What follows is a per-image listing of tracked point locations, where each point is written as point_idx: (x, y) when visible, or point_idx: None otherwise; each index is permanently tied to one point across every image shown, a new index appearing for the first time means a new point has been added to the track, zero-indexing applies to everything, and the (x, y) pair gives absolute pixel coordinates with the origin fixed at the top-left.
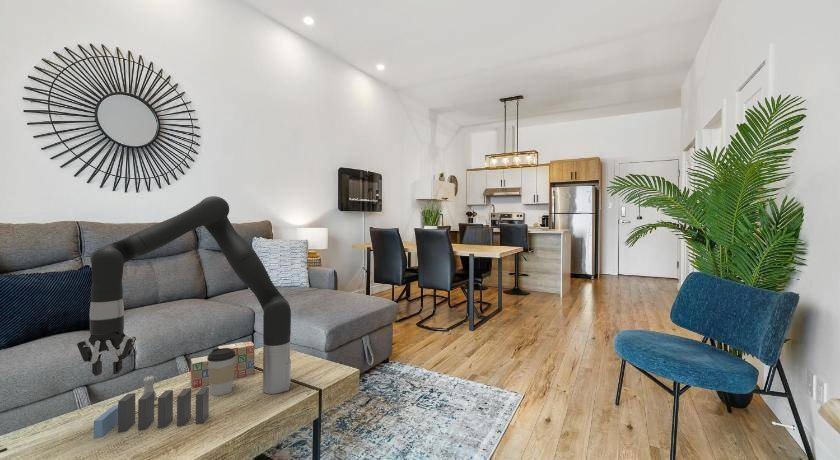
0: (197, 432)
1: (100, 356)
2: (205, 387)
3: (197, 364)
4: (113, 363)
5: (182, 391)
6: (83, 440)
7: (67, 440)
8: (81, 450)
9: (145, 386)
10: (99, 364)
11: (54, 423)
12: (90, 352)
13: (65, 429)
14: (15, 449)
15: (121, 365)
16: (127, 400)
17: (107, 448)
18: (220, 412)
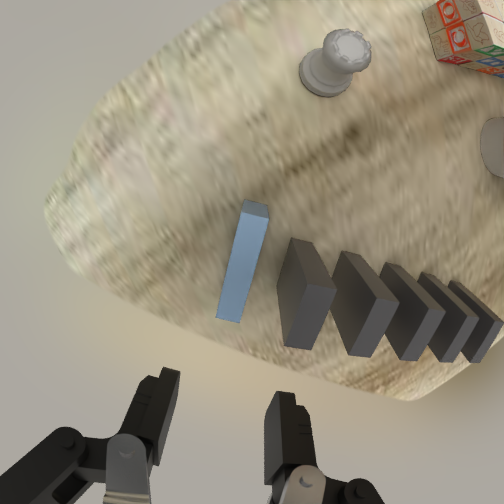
0: (425, 349)
1: (144, 479)
2: (498, 324)
3: (500, 49)
4: (266, 477)
5: (459, 334)
6: (200, 290)
7: (160, 271)
8: (215, 335)
9: (330, 67)
10: (162, 438)
11: (86, 143)
12: (56, 482)
13: (126, 197)
14: (74, 262)
15: (308, 439)
16: (313, 341)
17: (270, 350)
18: (477, 280)
